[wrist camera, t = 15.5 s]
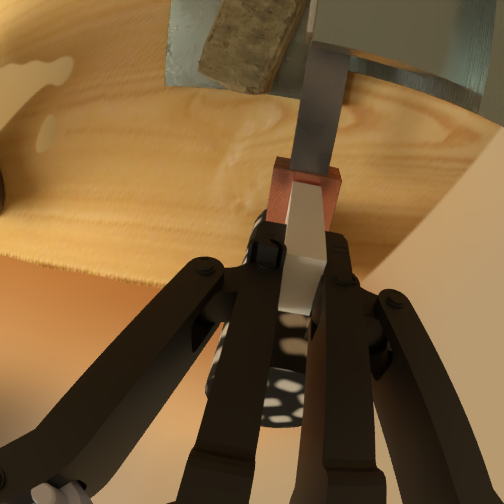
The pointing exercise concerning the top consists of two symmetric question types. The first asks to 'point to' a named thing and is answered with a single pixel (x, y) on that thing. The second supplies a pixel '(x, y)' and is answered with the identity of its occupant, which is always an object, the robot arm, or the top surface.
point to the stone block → (249, 43)
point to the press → (373, 47)
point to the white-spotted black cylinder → (279, 364)
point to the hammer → (313, 132)
